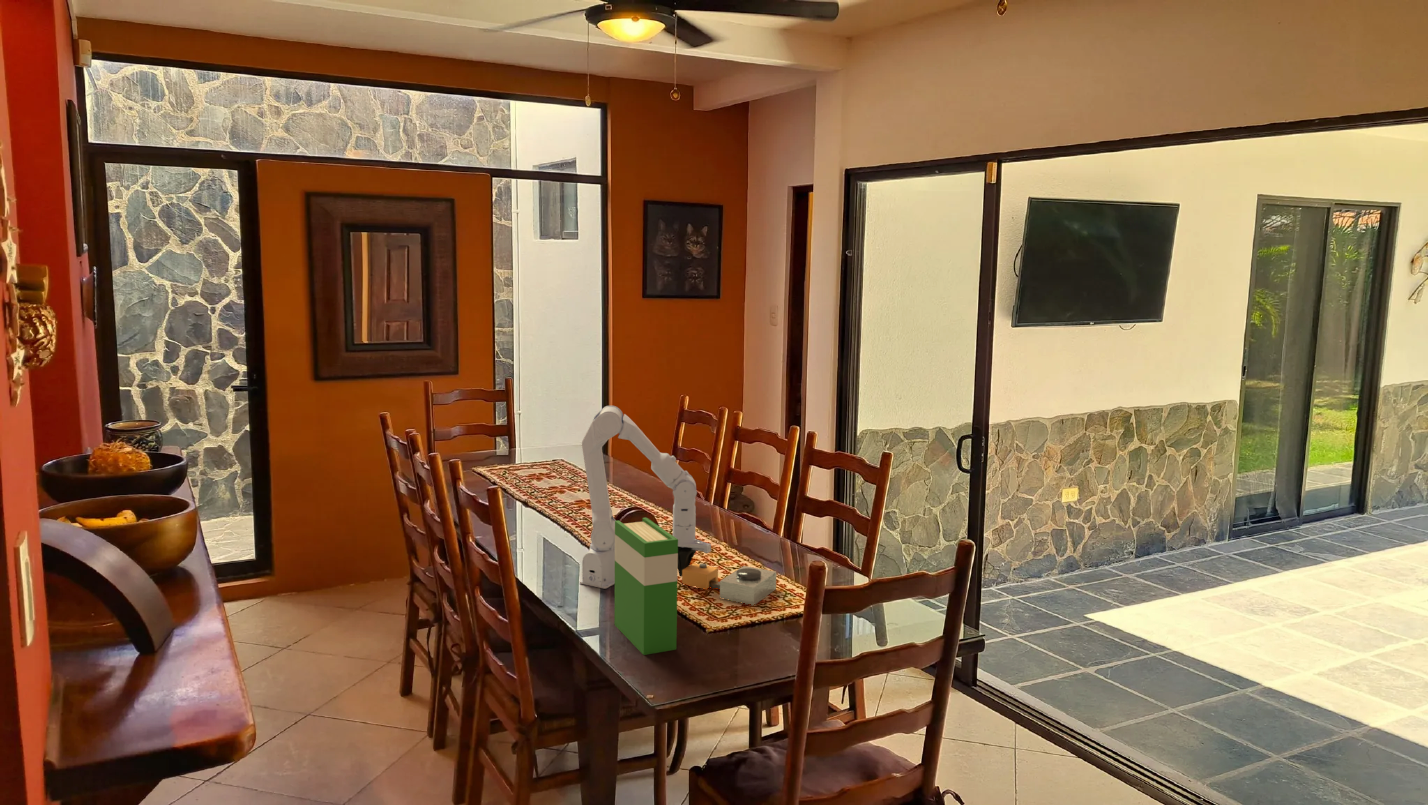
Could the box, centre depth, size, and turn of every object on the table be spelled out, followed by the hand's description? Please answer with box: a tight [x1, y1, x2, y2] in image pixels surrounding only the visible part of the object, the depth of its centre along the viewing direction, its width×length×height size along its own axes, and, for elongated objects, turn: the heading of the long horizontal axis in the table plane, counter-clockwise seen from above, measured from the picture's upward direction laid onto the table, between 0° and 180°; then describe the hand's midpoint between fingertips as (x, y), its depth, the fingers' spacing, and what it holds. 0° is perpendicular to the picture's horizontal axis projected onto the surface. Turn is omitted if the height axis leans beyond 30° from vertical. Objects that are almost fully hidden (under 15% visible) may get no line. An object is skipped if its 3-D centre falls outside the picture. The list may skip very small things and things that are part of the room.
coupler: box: [709, 565, 777, 606], centre depth 238 cm, size 13×15×6 cm
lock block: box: [681, 562, 719, 589], centre depth 242 cm, size 6×7×5 cm
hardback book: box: [613, 517, 679, 656], centre depth 208 cm, size 18×7×24 cm, turn 26°
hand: (683, 575), depth 245 cm, fingers closed
